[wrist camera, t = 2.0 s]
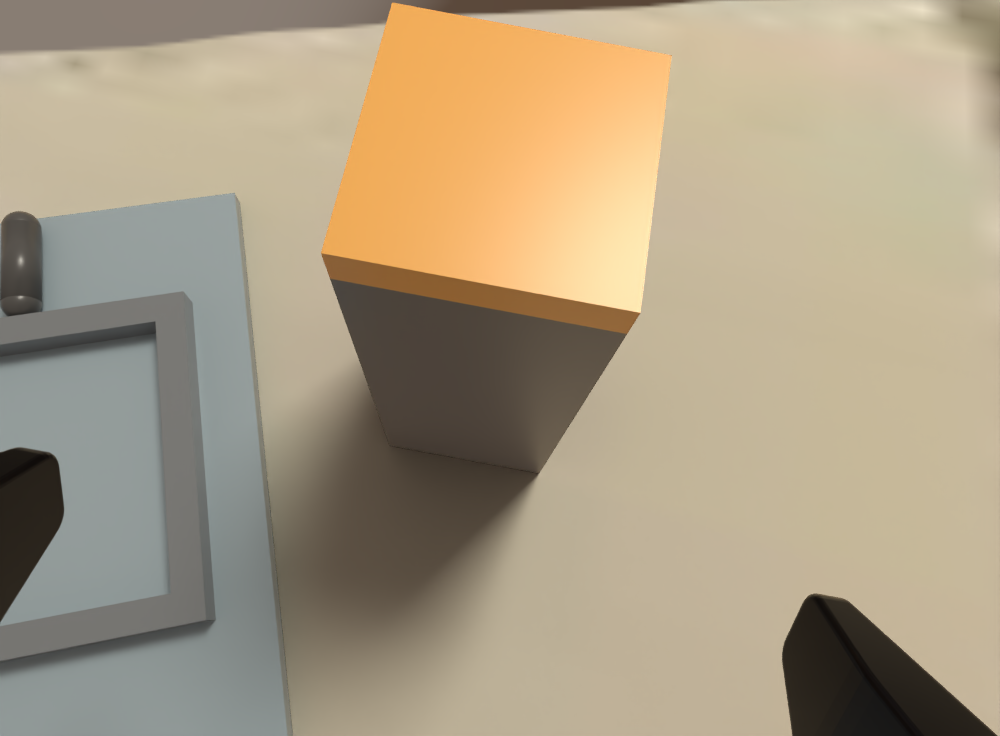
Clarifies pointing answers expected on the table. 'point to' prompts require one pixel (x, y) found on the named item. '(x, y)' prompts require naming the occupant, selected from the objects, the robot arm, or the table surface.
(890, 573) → the table surface
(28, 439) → the charging dock
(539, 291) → the brick
